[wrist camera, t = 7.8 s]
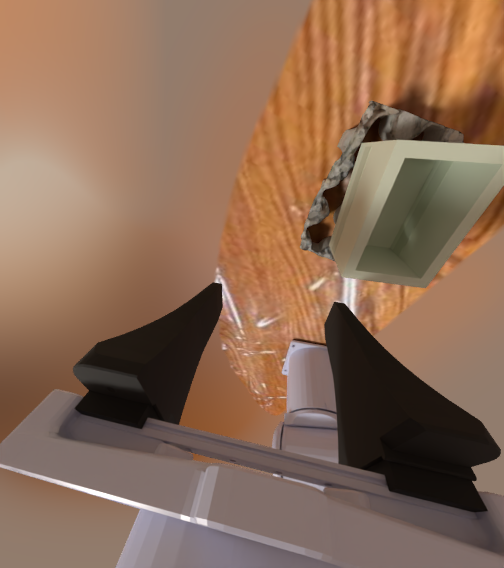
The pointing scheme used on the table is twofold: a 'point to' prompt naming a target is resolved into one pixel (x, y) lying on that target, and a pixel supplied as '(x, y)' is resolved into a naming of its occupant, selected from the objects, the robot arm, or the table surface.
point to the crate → (412, 207)
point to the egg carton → (390, 128)
